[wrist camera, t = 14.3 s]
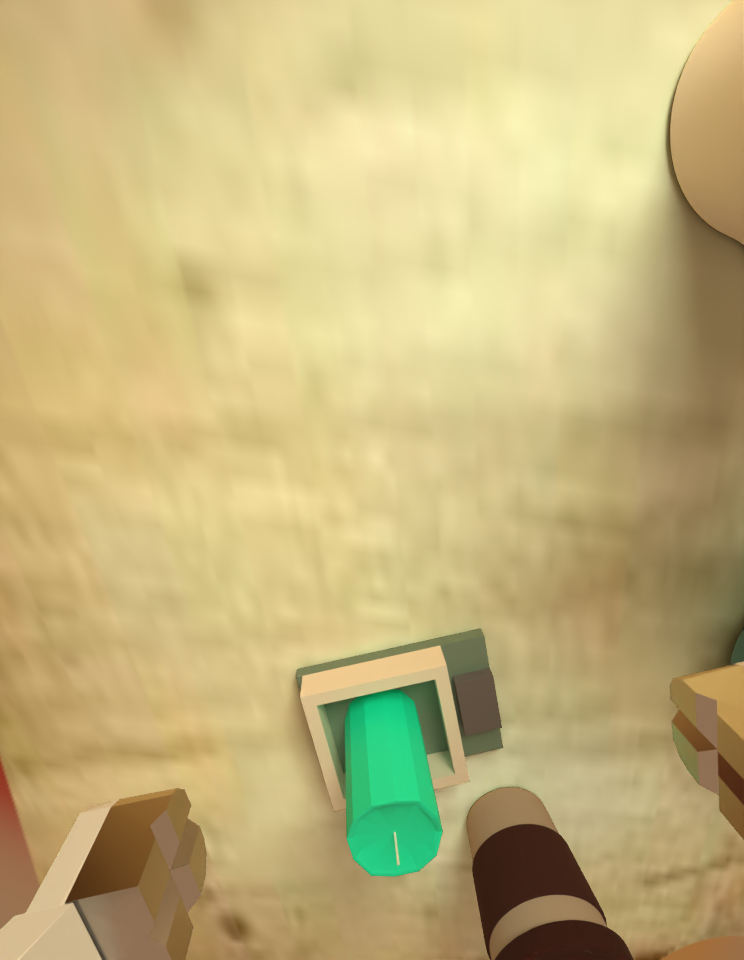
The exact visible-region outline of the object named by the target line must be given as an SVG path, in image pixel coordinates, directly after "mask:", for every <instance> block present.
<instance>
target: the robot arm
mask: <svg viewBox="0 0 744 960" xmlns="http://www.w3.org/2000/svg"><path fill="white" fill-rule="evenodd" d="M670 143H671V154H672V160H673V165H674V169H675V173H676V176H677V179H678V182H679V185H680V187H681V189H682V191H683V193H684V195H685V197H686V199H687V200H688V202H689V203H690V205H691V206H692V208H693V209H694V210H695V211H696V213H697V214H698V215H699V216H700V217H701V218H702V219H703V220H704V221H705V222H707V223H708V224H709V225H710V226H712V227H713V228H715V229H716V230H718V231H719V232H721V233H723V234H725V235H727V236H729V237H731V238H733V239H735V240H737V241H739V242H740V243H742V244H743V245H744V0H733V1H732V2H731V3H730V4H729V5H728V6H727V7H726V8H725V9H724V10H723V11H722V12H721V13H720V14H719V16H718V17H717V18H716V19H715V20H714V21H713V22H712V23H711V24H710V26H709V27H708V28H707V30H706V31H705V32H704V33H703V35H702V36H701V38H700V39H699V41H698V42H697V44H696V46H695V47H694V49H693V51H692V53H691V54H690V56H689V59H688V61H687V63H686V65H685V67H684V69H683V72H682V74H681V77H680V80H679V83H678V86H677V90H676V93H675V98H674V102H673V108H672V114H671V125H670ZM670 699H671V700H672V701H673V703H674V704H675V705H676V706H677V707H678V708H679V711H678V712H677V714H676V716H675V717H674V719H673V720H672V730H673V739H674V742H675V745H676V747H677V750H678V753H679V755H680V758H681V759H682V761H683V763H684V764H685V766H686V768H687V770H688V771H689V772H690V774H691V775H692V776H693V777H694V779H695V780H696V781H697V783H698V784H699V785H701V786H703V787H705V788H707V789H709V790H710V791H712V792H714V793H716V794H718V795H719V808H720V811H721V813H722V814H723V815H724V816H725V817H726V819H727V820H728V821H729V822H730V824H731V825H732V826H733V827H734V828H735V830H736V831H737V832H738V833H739V835H740V836H741V837H742V838H743V840H744V662H740V663H735V664H733V665H728V666H724V667H720V668H715V669H711V670H707V671H702V672H698V673H694V674H689V675H685V676H681V677H676V678H673V679H672V682H671V685H670ZM190 808H191V803H190V801H189V799H188V796H187V794H186V792H185V790H184V789H180V788H175V789H170V790H165V791H160V792H155V793H149V794H144V795H139V796H134V797H129V798H124V799H119V800H118V801H113V802H107V803H102V804H96V805H91V806H88V807H87V808H86V809H85V810H84V811H82V812H81V813H80V815H79V816H78V818H77V820H76V822H75V823H74V825H73V827H72V829H71V831H70V833H69V834H68V836H67V838H66V840H65V842H64V844H63V845H62V847H61V849H60V851H59V853H58V855H57V856H56V858H55V860H54V862H53V864H52V866H51V867H50V869H49V871H48V873H47V875H46V877H45V878H44V880H43V882H42V884H41V886H40V888H39V889H38V891H37V893H36V895H35V897H34V899H33V900H32V902H31V904H30V906H29V908H28V910H27V911H26V913H24V914H20V915H16V916H14V917H13V918H12V919H11V920H10V921H9V922H8V923H7V924H6V925H5V926H4V927H3V928H2V929H1V930H0V960H185V959H186V955H187V951H188V947H189V943H190V939H191V935H192V931H193V925H192V922H191V920H190V918H189V915H188V912H189V910H190V909H191V908H192V906H193V905H194V904H195V903H196V901H197V900H198V899H199V897H200V896H201V894H202V890H203V885H204V881H205V876H206V857H207V853H206V847H205V840H204V836H203V834H202V831H201V828H200V826H199V825H197V824H196V823H194V822H192V821H191V820H189V819H188V815H189V811H190Z"/></svg>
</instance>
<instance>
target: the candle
mask: <svg viewBox="0 0 744 960" xmlns="http://www.w3.org/2000/svg"><path fill="white" fill-rule="evenodd" d="M345 768H346V829H347V841H348V844H349V847H350V850H351V853H352V856H353V859H354V860H355V861H356V862H357V863H358V864H359V865H360V866H361V867H362V868H363V869H365V870H366V871H367V872H368V873H369V874H370V875H371V876H399V875H404V874H408V873H413V872H417V871H420V870H421V869H422V868H423V867H424V866H425V865H426V864H427V863H429V862H430V861H431V860H432V859H433V858H434V857H435V856H436V855H437V852H438V848H439V844H440V840H441V836H442V832H443V830H442V826H441V821H440V816H439V811H438V807H437V802H436V797H435V792H434V788H433V783H432V778H431V773H430V769H429V764H428V759H427V754H426V749H425V745H424V740H423V735H422V730H421V726H420V721H419V716H418V713H417V709H416V706H415V702H414V701H413V700H412V699H411V698H410V697H408V696H407V695H406V694H405V693H404V692H402V691H401V690H397V689H390V690H385V691H381V692H376V693H372V694H367V695H363V696H358V697H357V698H356V699H355V700H353V701H352V702H351V703H350V704H349V707H348V711H347V714H346V717H345Z"/></svg>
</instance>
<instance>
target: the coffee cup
mask: <svg viewBox="0 0 744 960" xmlns="http://www.w3.org/2000/svg"><path fill="white" fill-rule="evenodd" d="M467 832H468V837H469V843H470V848H471V853H472V859H473V867H472V871H473V878H474V884H475V889H476V895H477V900H478V906H479V911H480V917H481V922H482V928H483V934H484V939H485V944H486V949H487V953H488V955H489V958H490V960H633V958H632V956H631V953H630V951H629V949H628V947H627V945H626V944H625V942H624V941H623V940H622V939H621V937H620V936H619V935H618V934H617V933H615V932H614V931H612V930H611V929H609V928H608V927H607V923H606V918H605V916H604V913H603V911H602V909H601V907H600V905H599V903H598V901H597V899H596V897H595V896H594V894H593V892H592V890H591V888H590V886H589V884H588V882H587V880H586V879H585V877H584V875H583V873H582V871H581V869H580V867H579V865H578V863H577V862H576V860H575V858H574V856H573V854H572V852H571V850H570V848H569V846H568V845H567V843H566V841H565V840H564V839H563V837H562V836H561V835H559V833H558V831H557V829H556V827H555V825H554V823H553V822H552V820H551V818H550V816H549V814H548V812H547V810H546V808H545V806H544V804H543V803H542V801H541V800H540V799H539V798H538V797H537V796H536V795H535V794H533V793H531V792H530V791H528V790H525V789H522V788H517V787H505V788H499V789H496V790H493V791H491V792H489V793H487V794H485V795H483V796H482V797H481V798H479V799H478V800H477V801H476V802H475V804H474V805H473V806H472V808H471V810H470V812H469V814H468V818H467Z"/></svg>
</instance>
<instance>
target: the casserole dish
mask: <svg viewBox="0 0 744 960" xmlns="http://www.w3.org/2000/svg"><path fill="white" fill-rule="evenodd" d="M740 662H744V628H743V630H742V632H741V634H740V636H739V637H738V639H737V641H736V644H735V646H734V649H733V653H732V657H731V664H730V665H733V664H735V663H740Z"/></svg>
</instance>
